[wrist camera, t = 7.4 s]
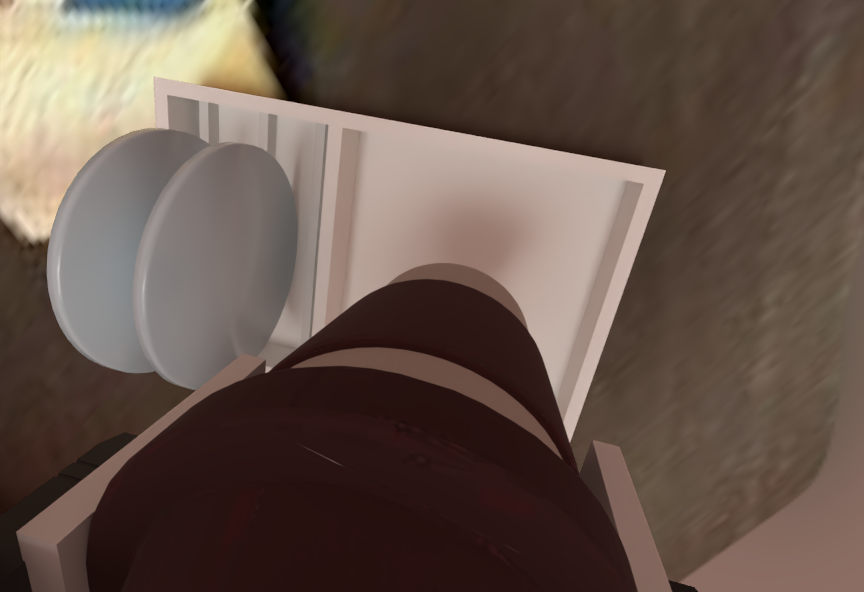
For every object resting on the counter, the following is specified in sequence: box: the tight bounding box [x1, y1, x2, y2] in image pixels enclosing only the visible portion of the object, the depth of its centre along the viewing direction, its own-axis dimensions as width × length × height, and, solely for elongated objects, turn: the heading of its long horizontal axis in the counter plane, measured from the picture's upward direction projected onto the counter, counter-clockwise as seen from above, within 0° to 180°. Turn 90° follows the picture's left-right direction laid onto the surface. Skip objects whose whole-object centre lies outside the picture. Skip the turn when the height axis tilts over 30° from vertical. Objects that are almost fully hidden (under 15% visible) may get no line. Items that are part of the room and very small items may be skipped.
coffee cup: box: [86, 263, 638, 592], centre depth 13 cm, size 10×10×15 cm
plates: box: [47, 128, 298, 390], centre depth 23 cm, size 4×13×13 cm, turn 170°
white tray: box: [154, 77, 666, 442], centre depth 28 cm, size 28×18×4 cm, turn 80°
